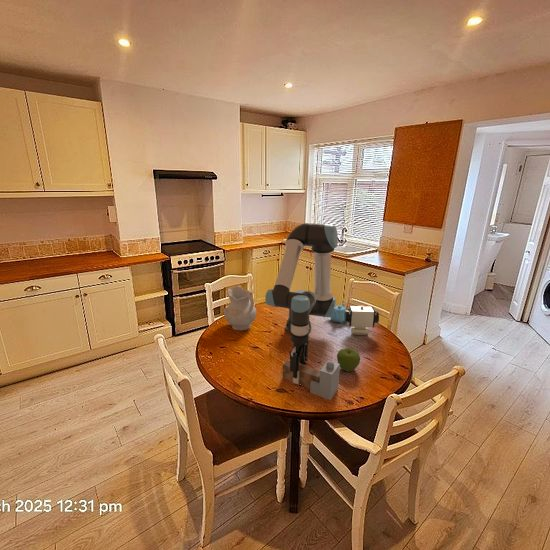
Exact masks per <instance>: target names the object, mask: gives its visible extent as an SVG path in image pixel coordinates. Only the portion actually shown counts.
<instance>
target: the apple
mask: <svg viewBox="0 0 550 550" xmlns="http://www.w3.org/2000/svg"><path fill="white" fill-rule="evenodd" d="M336 358H337V363H338V364H340V368H341V370H343V371H345V372H354V371H355V370H356V369H357V368H358V366H359V365H360V362H361V356H360V353H359V352H357V351H356V350H355V349H354V348H349V347H345V348H342V349H339V350H338V352H337V354H336Z"/></svg>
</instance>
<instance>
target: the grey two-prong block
mask: <svg viewBox="0 0 550 550" xmlns="http://www.w3.org/2000/svg"><path fill="white" fill-rule="evenodd" d="M340 368H341V367H340V364H339V363H338V362H335V361H332V360H329V359H328V360H327V362H325V364H324V365H323V366H322V368H321V369H320V370H319V371H320V383H318V382H316V381H313V380H312V381H311V382H310V388H309V391H310V392H311V393H310V392H309V393H310V394H312V395H313V394H314V395H315V394H316V395H315V396H318V395H319V396H318V397H320V396H321V397H320V398H323V399H326V400H328V399H329V400H328V401H331V400H332V399H333V397H334V396H335V394H336V393H337V391H338V390H339V384H340V383H339V381H340Z"/></svg>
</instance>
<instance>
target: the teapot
mask: <svg viewBox="0 0 550 550" xmlns="http://www.w3.org/2000/svg"><path fill="white" fill-rule="evenodd" d="M345 304H346V302H345V301H344V302H343V303H342V305H340V304H339V305H335V307H334V311H333V315H332V316H331V317H330V319H331V320H332V322H337V323H339V324H343V323H345V320H344V313H345V310H347V308H346V305H345Z"/></svg>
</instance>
